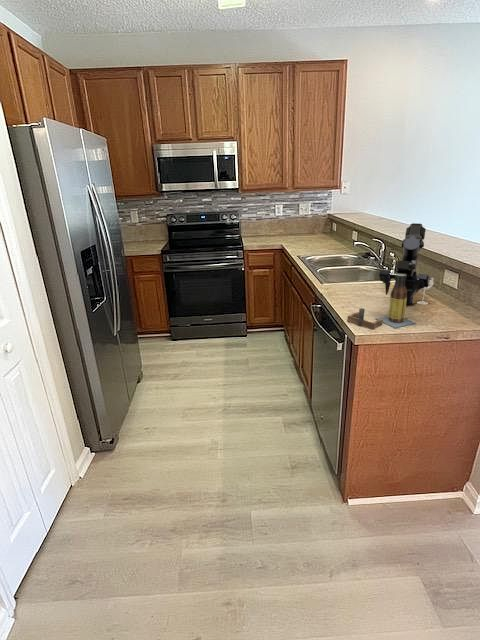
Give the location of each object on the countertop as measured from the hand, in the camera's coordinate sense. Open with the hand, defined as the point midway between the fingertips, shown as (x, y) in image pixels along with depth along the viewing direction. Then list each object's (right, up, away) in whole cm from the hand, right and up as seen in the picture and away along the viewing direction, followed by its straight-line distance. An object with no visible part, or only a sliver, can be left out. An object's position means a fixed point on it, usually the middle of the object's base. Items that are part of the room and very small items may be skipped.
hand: (398, 296), depth 148 cm
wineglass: (+22, -2, +25) cm, 34 cm away
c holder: (-12, -11, +4) cm, 17 cm away
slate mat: (+1, -10, +5) cm, 12 cm away
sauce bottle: (+1, -10, +5) cm, 11 cm away
